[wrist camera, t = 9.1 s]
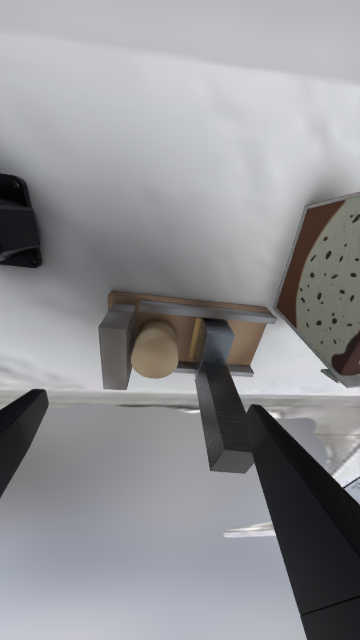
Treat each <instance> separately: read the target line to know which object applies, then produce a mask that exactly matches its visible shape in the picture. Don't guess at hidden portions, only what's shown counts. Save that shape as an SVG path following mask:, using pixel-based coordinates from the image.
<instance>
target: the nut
mask: <svg viewBox="0 0 360 640" xmlns="http://www.w3.org/2000/svg"><path fill="white" fill-rule="evenodd" d="M131 363H132V366H133V368H134V369H135V371H136V372H137V373H139V374H140V375H142V376H144V377H147V378H163V377H166V376H168V375H170V374H171V373H172V372H173V371H174V370H175V369H176V367H177V365H178V350H177V336H176V330H175V328H174V327H173V325H172V324H171V323H169V322H168V321H165V320H163V319H151V320H148V321H146V322H144V323H143V324H142V325H141V326H140V328H139V330H138V334H137V338H136V341H135V345H134V349H133V353H132V356H131Z"/></svg>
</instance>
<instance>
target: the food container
mask: <svg viewBox="0 0 360 640" xmlns="http://www.w3.org/2000/svg"><path fill="white" fill-rule="evenodd" d="M273 308H274V309H275V310H276V312H277V313H278V314H279V315H280V316H281V317H282V318H283V319H284V320H285V321H286V323H287V324H288V325H289V326H290V327H291V328H292V329H293V330H294V331H295V332H296V334H297V335H298V336H299V337H300V338H301V339H302V340H303V341H304V342H305V344H306V345H307V346H308V347H309V348H310V349H311V350H312V351H313V352H314V353H315V355H316V356H317V357H318V358H319V359H320V360H321V361H322V362H323V363H324V365H325V366H326V367H327V368H328V369H321V372H322V373H324V374H325V375H326V376H328V377H329V378H331V379H332V380H334V381H335V382H336V383H342V384H343V385H344V386H345V387H347V388H355V387H360V192H357V193H353V194H349V195H346V196H342V197H338V198H334V199H330V200H327V201H323V202H319V203H315V204H312V205H308V206H305V208H304V211H303V214H302V217H301V221H300V224H299V227H298V230H297V233H296V237H295V240H294V243H293V246H292V249H291V253H290V256H289V259H288V262H287V265H286V268H285V272H284V275H283V278H282V281H281V284H280V288H279V291H278V294H277V297H276V300H275V304H274V307H273Z"/></svg>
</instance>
